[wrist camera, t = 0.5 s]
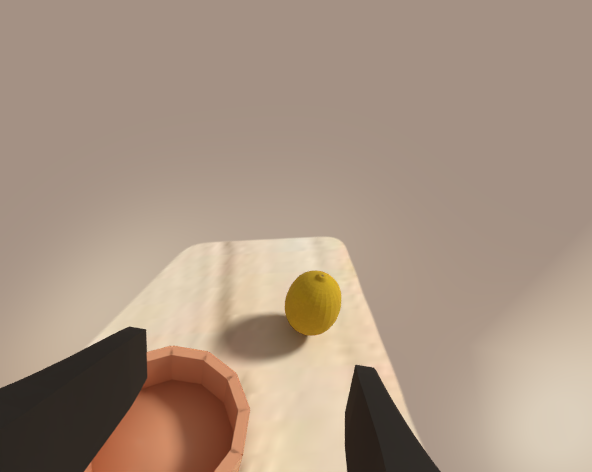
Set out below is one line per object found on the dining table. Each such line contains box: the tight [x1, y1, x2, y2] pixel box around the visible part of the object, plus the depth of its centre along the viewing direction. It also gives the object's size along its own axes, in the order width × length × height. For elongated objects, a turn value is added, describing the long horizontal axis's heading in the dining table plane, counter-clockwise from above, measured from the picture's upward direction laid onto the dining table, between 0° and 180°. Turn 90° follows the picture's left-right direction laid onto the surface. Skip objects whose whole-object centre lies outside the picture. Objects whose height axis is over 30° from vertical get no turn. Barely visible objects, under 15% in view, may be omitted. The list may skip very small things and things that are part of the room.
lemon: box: [285, 271, 341, 335], centre depth 33 cm, size 6×6×8 cm
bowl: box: [84, 346, 250, 472], centre depth 23 cm, size 11×11×4 cm
